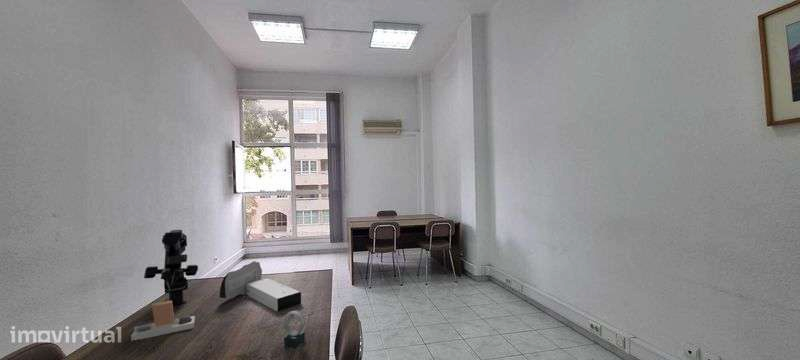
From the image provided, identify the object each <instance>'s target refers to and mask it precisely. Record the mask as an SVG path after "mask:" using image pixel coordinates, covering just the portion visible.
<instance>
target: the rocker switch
mask: <svg viewBox="0 0 800 360" xmlns="http://www.w3.org/2000/svg"><path fill="white" fill-rule="evenodd" d="M151 324H152V323H146V324H143V325H139V326H137V327H138V328H137V330H142V329H147V328H149V327H150V326H151Z"/></svg>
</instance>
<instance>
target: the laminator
mask: <svg viewBox="0 0 800 360" xmlns="http://www.w3.org/2000/svg"><path fill="white" fill-rule="evenodd" d="M246 289H247V294H246V295H247V297H249V298H251V299H253V300H255V301H257V302H259V303H261V304H263V305H265V306H266V307H268V308H270V309H272V310H274V311H276V312H280V311H284V310H286V309H289V308H292V307H295V306H299V305H301V304H302V292H301V291H299V290H297V289H294V288H292V287H289V286H287V285H285V284H282V283H280V282H277V281H275V280H273V279H271V278H261V280H258V281H254V282H250V283H247V284H246Z"/></svg>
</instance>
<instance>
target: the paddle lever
mask: <svg viewBox="0 0 800 360" xmlns="http://www.w3.org/2000/svg"><path fill="white" fill-rule="evenodd" d="M151 309H152V315H153V321H154V322H153V323H154V324H155V327H157V326H162V325H167V324H172V323H174V321H175V314H174V306H173V304H172V301H169V300H167V301H160V302H155V303H152V304H151Z"/></svg>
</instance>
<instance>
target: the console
mask: <svg viewBox="0 0 800 360" xmlns="http://www.w3.org/2000/svg"><path fill="white" fill-rule="evenodd" d="M174 320H175V321H174V323H172V324H167V325H162V326H157V327H155V322H151V323H150V324H151V326H150V327H149V328H147V329H142V330H137V328H138V327H139V326H135V327H134V328H133V329H134V331H133V332H132V334H131V338H130V339H131V342H134V341H133V340H135V341H139V340H144V339H149V338H153V337H157V336H163V335H167V334H172V333H176V332H181V331H187V330H191V329H194V328H195V327H194V326H195V323H196V316H195V315H192V316H190V320H191V322H188V323H183V324H180V318H174ZM138 339H139V340H138Z"/></svg>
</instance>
